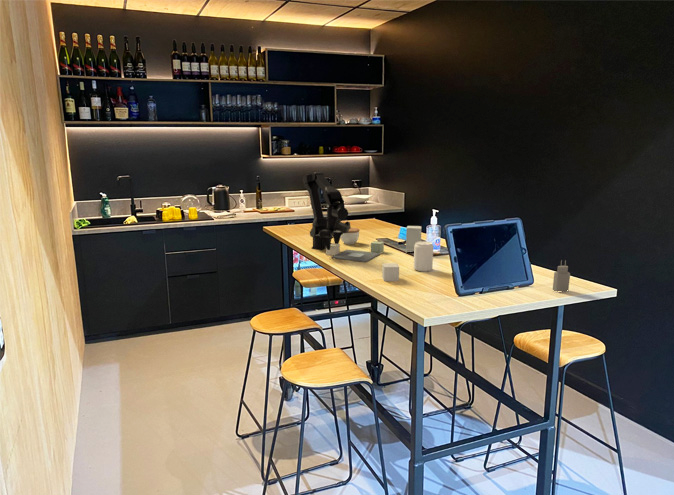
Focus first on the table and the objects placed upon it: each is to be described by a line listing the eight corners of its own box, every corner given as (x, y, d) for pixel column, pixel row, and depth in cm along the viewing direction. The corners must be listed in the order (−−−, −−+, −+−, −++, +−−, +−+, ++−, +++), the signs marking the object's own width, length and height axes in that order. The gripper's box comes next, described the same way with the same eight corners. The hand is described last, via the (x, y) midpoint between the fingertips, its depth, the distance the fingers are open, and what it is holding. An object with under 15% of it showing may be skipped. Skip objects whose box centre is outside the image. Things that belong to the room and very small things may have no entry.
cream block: (326, 254, 247) (326, 244, 246) (330, 252, 251) (330, 243, 250) (335, 255, 245) (335, 245, 244) (339, 253, 249) (339, 243, 248)
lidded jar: (353, 240, 280) (353, 223, 278) (362, 244, 271) (363, 227, 269) (336, 242, 276) (336, 225, 273) (344, 246, 266) (345, 228, 264)
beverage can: (420, 273, 215) (422, 245, 212) (409, 268, 222) (410, 242, 219) (436, 270, 218) (437, 243, 216) (424, 266, 226) (425, 240, 223)
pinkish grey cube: (398, 281, 203) (399, 266, 202) (383, 281, 203) (384, 267, 201) (396, 277, 209) (396, 263, 208) (382, 277, 209) (382, 263, 207)
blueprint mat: (331, 258, 240) (331, 256, 240) (346, 250, 256) (346, 249, 255) (366, 262, 232) (366, 260, 232) (380, 254, 248) (380, 252, 248)
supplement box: (420, 253, 250) (421, 228, 247) (405, 252, 251) (406, 228, 249) (420, 250, 257) (421, 225, 254) (406, 249, 258) (407, 225, 256)
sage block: (370, 252, 252) (370, 242, 251) (374, 250, 256) (374, 241, 255) (380, 253, 250) (380, 243, 249) (383, 251, 254) (383, 242, 253)
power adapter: (569, 291, 190) (572, 260, 188) (557, 292, 189) (560, 261, 186) (563, 289, 193) (566, 258, 191) (551, 290, 192) (554, 259, 189)
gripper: (339, 220, 232) (339, 253, 236) (355, 215, 249) (355, 245, 252) (318, 219, 237) (318, 251, 240) (335, 213, 253) (335, 243, 257)
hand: (332, 248), depth 247 cm, fingers open, 9 cm apart
